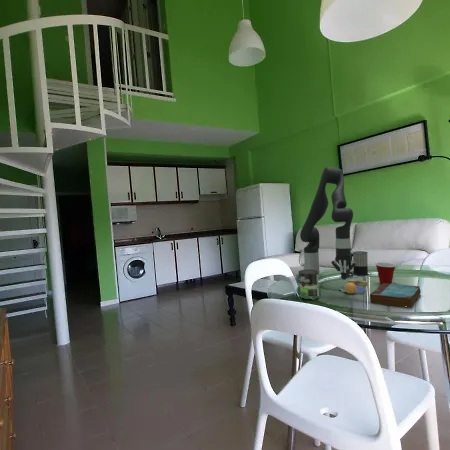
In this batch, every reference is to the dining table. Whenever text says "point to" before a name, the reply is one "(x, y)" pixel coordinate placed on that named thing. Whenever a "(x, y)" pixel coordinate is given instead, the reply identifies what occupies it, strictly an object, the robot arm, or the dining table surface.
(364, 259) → the milk frother
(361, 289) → the disc
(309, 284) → the coffee can
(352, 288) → the ball
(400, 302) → the book
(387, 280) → the plastic cup
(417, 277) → the dining table surface
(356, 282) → the stopper bar
